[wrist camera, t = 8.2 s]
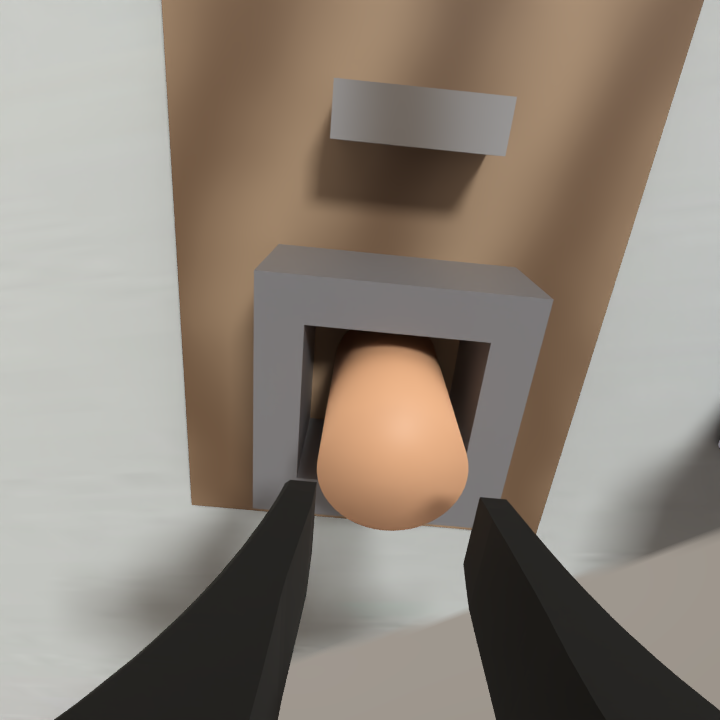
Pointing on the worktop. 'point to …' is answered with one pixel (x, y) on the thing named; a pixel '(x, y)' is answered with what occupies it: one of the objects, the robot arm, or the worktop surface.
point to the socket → (399, 316)
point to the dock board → (408, 178)
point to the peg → (390, 434)
